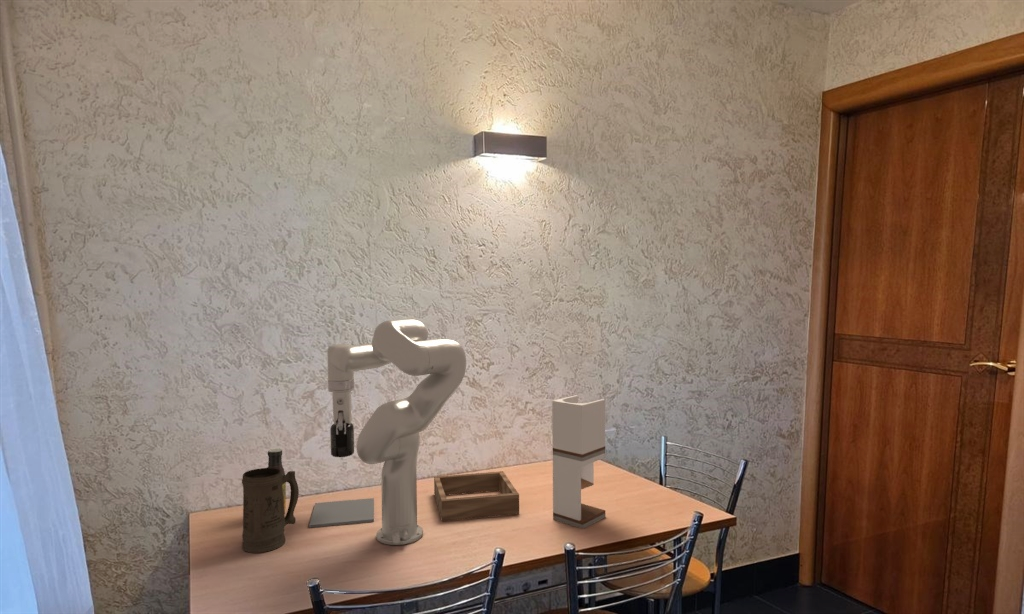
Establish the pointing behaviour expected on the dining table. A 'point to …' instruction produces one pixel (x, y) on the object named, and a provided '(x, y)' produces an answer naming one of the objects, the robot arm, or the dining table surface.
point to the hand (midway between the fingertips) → (342, 443)
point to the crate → (478, 504)
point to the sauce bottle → (276, 462)
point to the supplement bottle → (350, 441)
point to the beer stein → (266, 508)
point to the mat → (342, 512)
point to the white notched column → (576, 457)
